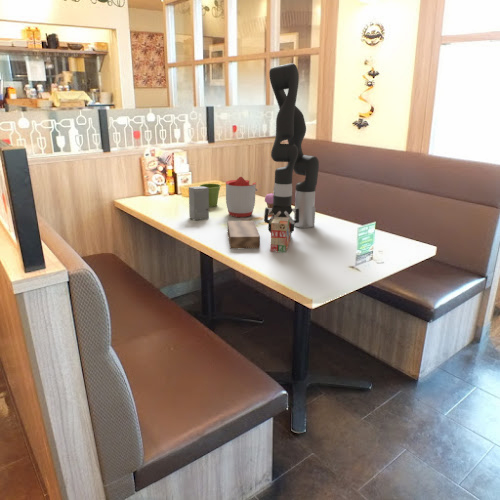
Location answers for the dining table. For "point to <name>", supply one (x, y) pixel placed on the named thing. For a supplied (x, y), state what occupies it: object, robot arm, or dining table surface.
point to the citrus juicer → (240, 197)
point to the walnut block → (243, 234)
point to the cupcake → (269, 200)
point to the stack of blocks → (280, 234)
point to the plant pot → (213, 193)
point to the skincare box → (199, 202)
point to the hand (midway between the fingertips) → (280, 232)
